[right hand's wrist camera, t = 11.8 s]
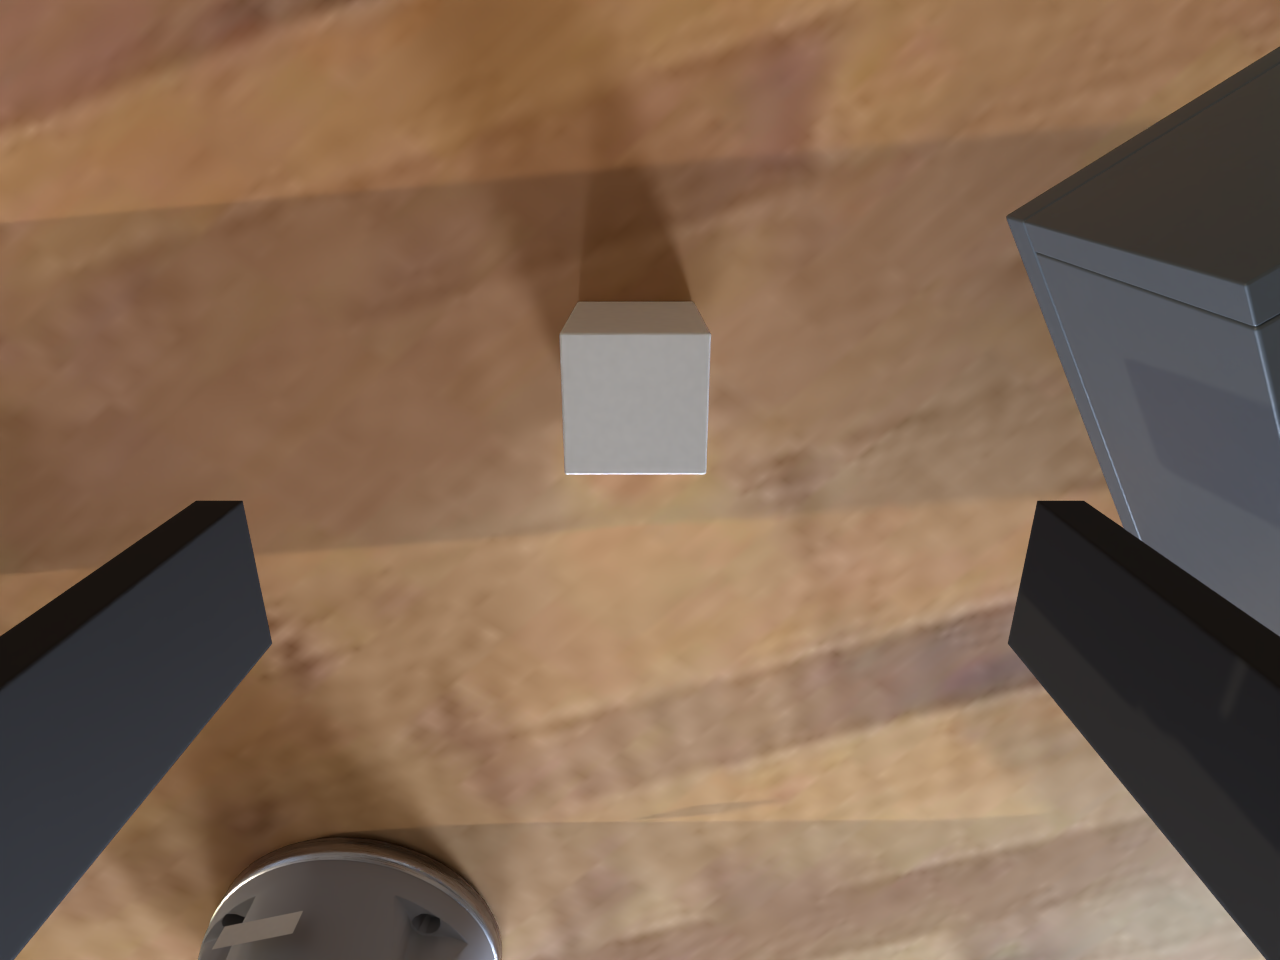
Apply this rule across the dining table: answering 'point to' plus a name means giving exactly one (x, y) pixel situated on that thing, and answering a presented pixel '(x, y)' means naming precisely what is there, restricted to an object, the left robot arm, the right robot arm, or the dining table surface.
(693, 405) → the off-white block
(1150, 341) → the pan
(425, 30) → the dining table surface
